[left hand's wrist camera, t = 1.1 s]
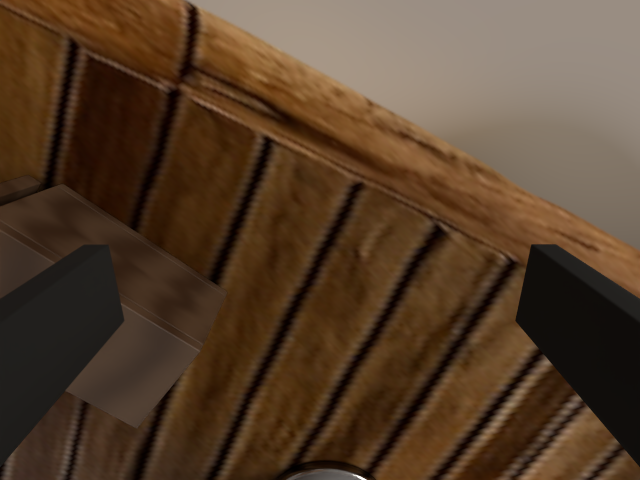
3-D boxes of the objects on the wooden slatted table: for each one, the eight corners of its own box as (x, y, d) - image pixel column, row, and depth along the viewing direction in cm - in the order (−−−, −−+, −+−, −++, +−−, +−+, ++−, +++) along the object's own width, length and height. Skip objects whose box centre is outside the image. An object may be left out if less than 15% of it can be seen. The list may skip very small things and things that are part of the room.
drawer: (-75, 211, 35) (-176, 243, 28) (-39, 131, 32) (-140, 142, 25) (146, 342, 40) (108, 397, 33) (192, 281, 37) (162, 326, 30)
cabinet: (17, 263, 38) (-76, 316, 29) (62, 182, 35) (-26, 214, 26) (175, 357, 42) (136, 429, 33) (227, 291, 39) (200, 351, 30)
